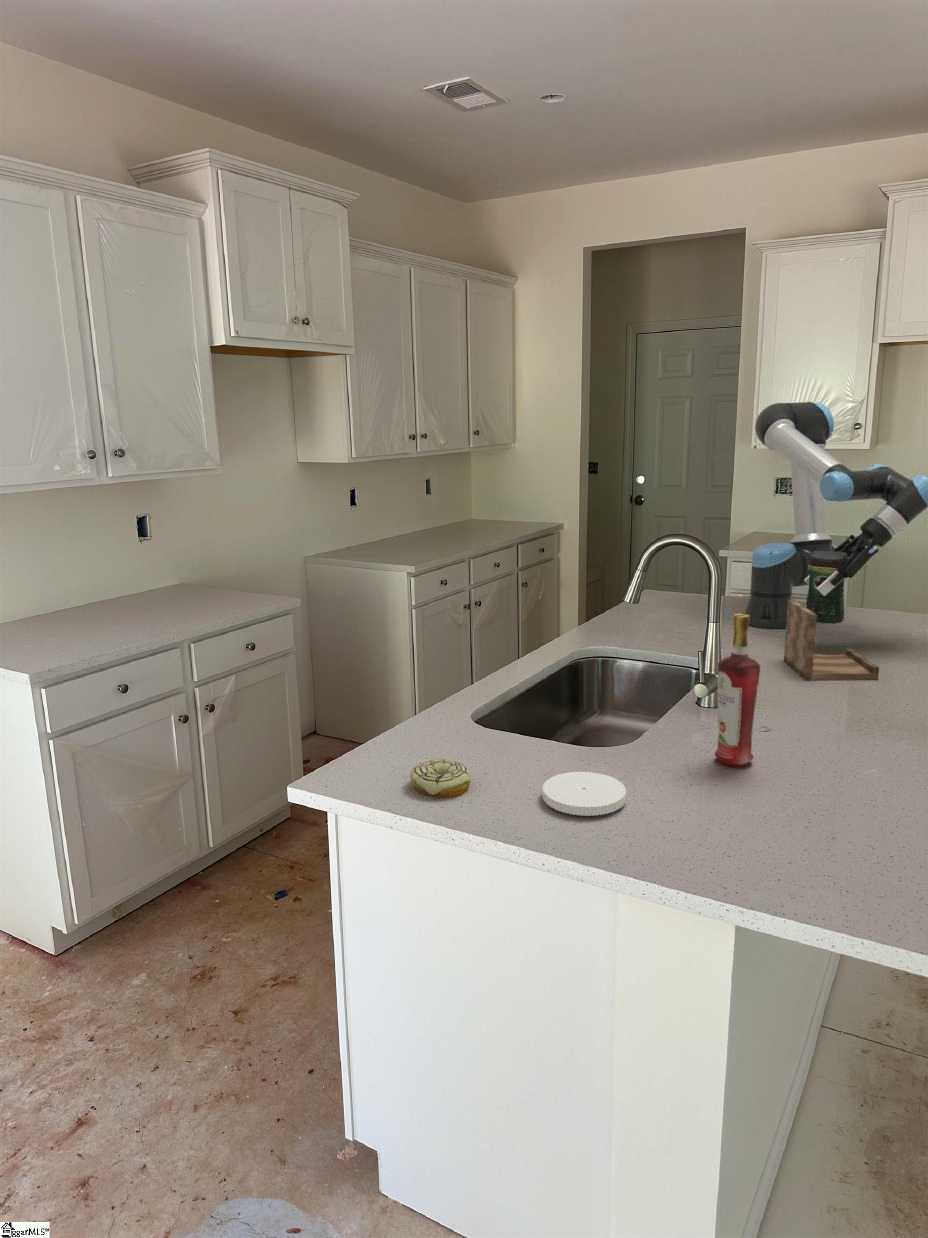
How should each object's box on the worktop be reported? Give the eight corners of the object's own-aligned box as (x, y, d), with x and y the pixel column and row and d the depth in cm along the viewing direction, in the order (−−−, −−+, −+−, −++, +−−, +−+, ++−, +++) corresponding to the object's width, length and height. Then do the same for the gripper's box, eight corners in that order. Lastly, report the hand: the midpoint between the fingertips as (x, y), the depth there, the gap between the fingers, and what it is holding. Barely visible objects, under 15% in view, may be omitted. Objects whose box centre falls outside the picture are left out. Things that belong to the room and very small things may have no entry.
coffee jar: (846, 619, 231) (852, 550, 226) (839, 626, 225) (846, 555, 220) (807, 614, 237) (813, 547, 232) (800, 621, 230) (806, 552, 225)
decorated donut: (432, 806, 148) (431, 786, 147) (400, 785, 156) (399, 765, 155) (482, 790, 154) (482, 770, 153) (448, 770, 162) (448, 751, 161)
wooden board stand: (783, 661, 224) (788, 599, 220) (851, 660, 223) (856, 599, 219) (805, 680, 208) (810, 614, 204) (877, 679, 208) (884, 614, 204)
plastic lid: (627, 788, 153) (628, 775, 153) (623, 825, 140) (623, 810, 140) (548, 782, 156) (548, 769, 156) (536, 817, 143) (536, 803, 143)
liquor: (704, 758, 164) (711, 613, 158) (736, 751, 167) (744, 609, 160) (730, 772, 158) (739, 622, 151) (762, 765, 161) (772, 617, 154)
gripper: (911, 544, 214) (838, 608, 219) (874, 530, 235) (808, 588, 240) (891, 523, 213) (819, 587, 217) (856, 510, 234) (790, 569, 238)
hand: (813, 587), depth 229 cm, fingers closed on coffee jar, 9 cm apart
